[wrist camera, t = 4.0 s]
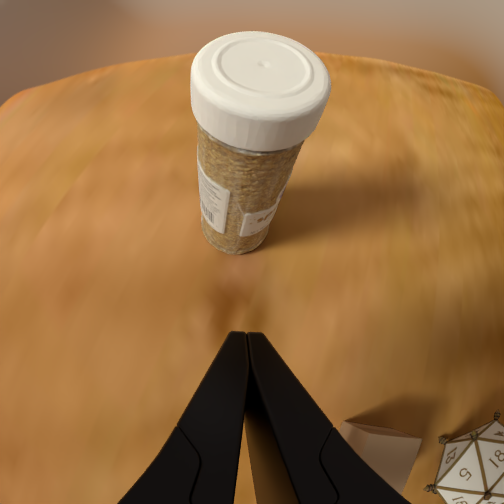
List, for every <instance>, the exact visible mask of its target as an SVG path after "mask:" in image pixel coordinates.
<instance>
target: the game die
mask: <svg viewBox="0 0 504 504" xmlns="http://www.w3.org/2000/svg"><path fill="white" fill-rule="evenodd" d="M494 415H495V416H494V420H493V421H491V422H489V423H487V424H485V425H483V426H481V427H479V428H477V429H475V430H472V431H470V432H468V433H466V434H464V435H462V436H459V437H457V438H455V439H452V440H450V441H446V438H444V437H439V443H441V444H444V445H445V446H444V450H443V454H442V458H441V461H440V465H439V469H438V472H437V475H436V479H435V482H434V485H432V484H430V485H427V486H426V487H425V488H424V489H423V490H425V491H427V492H429V491H432V490H433V491H432V493H434V494H437V493H438V495H439V496H440V497H441V499H442V500H443V501H444V503H445V504H503V503H504V425H503V424H501V423H500V422H499V421H498V418H499V417H500V412H499V409H498V410H497V411H496V413H495V414H494Z"/></svg>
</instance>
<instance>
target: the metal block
mask: <svg viewBox="0 0 504 504" xmlns="http://www.w3.org/2000/svg"><path fill="white" fill-rule="evenodd" d="M339 433H340V434H341V435H342V437H343V438H344V439H345V440H346V441H347V443H348V444H349V445H350V446H351V447H352V448H353V450H354V451H355V452H356V453H357V454H358V455H359V456H360V457H361V458H362V459H363V460H364V461H365V462H366V463H367V464H368V465H369V466H370V467H371V468H372V469H373V470H374V471H375V472H376V473H377V474H378V475H379V476H381V477H382V478H383V479H384V480H385V481H386V482H387V483H388V484H389V485H390V486H391V487H393V488H394V489H395V490H396V491H397V492H398V493H399V494H400V495H401V494H402V491H403V489H404V487H405V484H406V482H407V479H408V477H409V474H410V472H411V469H412V467H413V464H414V461H415V459H416V456H417V453H418V450H419V447H420V445H421V442H422V439H421V438H418V437H415V436H412V435H409V434H406V433H403V432H400V431H398V430H395V429H392V428H386V427H379V426H372V425H365V424H359V423H353V422H347V421H343V422H342V425H341V428H340V431H339Z"/></svg>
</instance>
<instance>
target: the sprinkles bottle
mask: <svg viewBox="0 0 504 504" xmlns="http://www.w3.org/2000/svg"><path fill="white" fill-rule="evenodd" d="M330 92H331V80H330V76H329V73H328V70H327V68H326V67H325V65H324V63H323V62H322V61H321V59H320V58H319V57H318V56H317V55H316V54H315V53H314V52H312V51H311V50H310V49H308V48H307V47H305V46H304V45H302V44H300V43H299V42H297V41H295V40H292V39H290V38H287V37H284V36H281V35H277V34H272V33H267V32H257V31H248V32H237V33H232V34H228V35H225V36H222V37H219V38H217V39H215V40H213V41H211V42H210V43H208V44H207V45H205V46H204V47H203V48H202V49H201V50H200V51H199V52H198V54H197V55H196V57H195V58H194V61H193V64H192V67H191V106H192V110H193V113H194V116H195V118H196V121H197V129H198V146H197V163H198V178H199V194H200V206H201V211H202V216H201V226H202V231H203V234H204V236H205V237H206V239H207V241H208V242H209V243H210V244H211V245H212V246H213V247H215V248H216V249H217V250H220V251H222V252H225V253H227V254H243V253H246V252H249V251H252V250H254V249H255V248H257V247H258V246H259V245H260V244H261V243H262V242H263V240H264V239H265V237H266V235H267V234H268V228H269V224H270V222H271V220H272V218H273V216H274V214H275V212H276V209H277V207H278V204H279V202H280V199H281V197H282V194H283V192H284V190H285V187H286V185H287V183H288V181H289V178H290V176H291V173H292V170H293V165H294V164H295V161H296V159H297V156H298V154H299V151H300V149H301V146H302V144H303V142H304V140H305V139H306V138H307V137H309V135H310V134H311V133H312V132H313V131H314V130H315V128H316V126H317V124H318V122H319V120H320V118H321V115H322V113H323V111H324V108H325V106H326V103H327V101H328V98H329V95H330Z"/></svg>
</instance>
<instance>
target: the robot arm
mask: <svg viewBox="0 0 504 504" xmlns="http://www.w3.org/2000/svg"><path fill="white" fill-rule="evenodd" d="M243 423H245V430H246V437H247V443H248V450H249V457H250V463H251V470H252V476H253V482H254V489H255V495H256V501H257V504H411V503H410V502H409V501H407V500H406V499H405V498H404V497H403V496H401V495H400V494H399V493H398V492H397V491H396V490H395V489H394V488H393V487H391V486H390V485H389V484H388V483H387V482H386V481H385V480H384V479H383V478H382V477H381V476H379V475H378V474H377V473H376V472H375V471H374V470H373V469H372V468H371V467H370V466H369V465H368V464H367V463H366V462H365V461H364V460H363V459H362V458H361V457H360V456H359V455H358V454H357V453H356V452H355V451H354V450H353V448H352V447H351V446H350V445H349V444H348V443H347V441H346V440H345V439H344V438H343V437H342V435H341V434H340V433H339V432H338V430H337V429H336V428H335V427H333V424H332V423H331V422H330V420H329V419H328V418H327V416H326V415H325V414H324V413H323V411H322V410H321V409H320V408H319V406H318V405H317V404H316V402H315V401H314V400H313V399H312V397H311V396H310V395H309V393H308V392H307V391H306V389H305V388H304V387H303V386H302V384H301V383H300V382H299V380H298V379H297V378H296V376H295V375H294V374H293V372H292V371H291V370H290V368H289V367H288V366H287V364H286V363H285V362H284V360H283V359H282V358H281V356H280V355H279V354H278V352H277V351H276V350H275V348H274V347H273V346H272V344H271V343H270V342H269V340H268V339H267V338H266V336H265V335H264V334H263V333H261V332H248V333H247V334H246V333H245V332H241V331H231V332H229V334H228V335H227V337H226V339H225V341H224V343H223V344H222V346H221V348H220V350H219V351H218V353H217V355H216V357H215V358H214V360H213V362H212V364H211V365H210V367H209V369H208V371H207V372H206V374H205V376H204V378H203V379H202V381H201V383H200V385H199V386H198V388H197V390H196V392H195V393H194V395H193V397H192V399H191V400H190V402H189V404H188V406H187V407H186V409H185V411H184V412H183V414H182V416H181V418H180V419H179V421H178V423H177V426H176V427H175V428H174V429H173V431H172V433H171V434H170V436H169V438H168V439H167V441H166V442H165V444H164V446H163V447H162V449H161V450H160V452H159V453H158V455H157V456H156V458H155V459H154V460H153V461H152V463H151V464H150V465H149V467H148V468H147V469H146V471H145V472H144V473H143V474H142V475H141V477H140V478H139V479H138V480H137V481H136V483H135V484H134V485H133V486H132V487H131V488H130V490H129V491H128V492H127V493H126V494H125V495H124V496H123V498H122V499H121V500H120V501H119V502H118V503H117V504H234V496H235V488H236V480H237V472H238V464H239V456H240V448H241V440H242V432H243Z"/></svg>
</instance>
